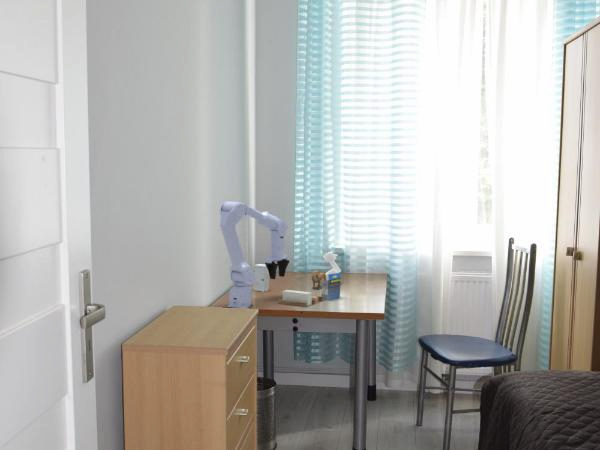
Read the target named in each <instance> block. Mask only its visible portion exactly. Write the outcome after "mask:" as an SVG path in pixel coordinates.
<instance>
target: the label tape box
mask: <svg viewBox="0 0 600 450" xmlns="http://www.w3.org/2000/svg"><path fill="white" fill-rule="evenodd" d="M334 275H335V276H337V277H335V278H333V276H334ZM328 279H329V280H328V281H325V282H324V281H321V291H320V292H321V294H320V295H321V297H324V300H325V301H331V300H336V299H340V298H341V297H340V296H341V295H340V294H341V282H340V280H341V279H342V278H341V272H339V273H334V274H328Z"/></svg>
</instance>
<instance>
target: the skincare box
mask: <svg viewBox="0 0 600 450" xmlns="http://www.w3.org/2000/svg"><path fill="white" fill-rule="evenodd" d="M253 270H254V271H253V272H254V274H255V280H254V282H253V291H256V292H262V293H263V292H264V291H265V292H269V288H270V287H269V286H270V275H269V271H268V269H267V267H266V265H265V263H264V264H263V263H257V264H254V268H253ZM265 292H264V293H265Z"/></svg>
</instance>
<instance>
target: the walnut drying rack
mask: <svg viewBox="0 0 600 450" xmlns="http://www.w3.org/2000/svg"><path fill="white" fill-rule="evenodd" d="M315 296H316V297H318V302H315V300H313V299H312V305H309V306H307V303H305V302H296V301H288V300H283V299H278V300H277V303H276V304H277V305H283V306H291V307H299V308H308V307H311V306H314V305H317V304H320V303H322V302H324V301H326V300H324V297H321V296H319V295H315Z"/></svg>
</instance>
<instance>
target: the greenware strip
mask: <svg viewBox="0 0 600 450" xmlns="http://www.w3.org/2000/svg"><path fill="white" fill-rule="evenodd" d="M312 294H313V293H312V292H311V291H310V292H309V291H302V290H292V289H285V290H282V300H288V301H296V302H305V303H307V306H309V305H312V296H313V295H312ZM312 306H313V305H312ZM309 307H310V306H309Z"/></svg>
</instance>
